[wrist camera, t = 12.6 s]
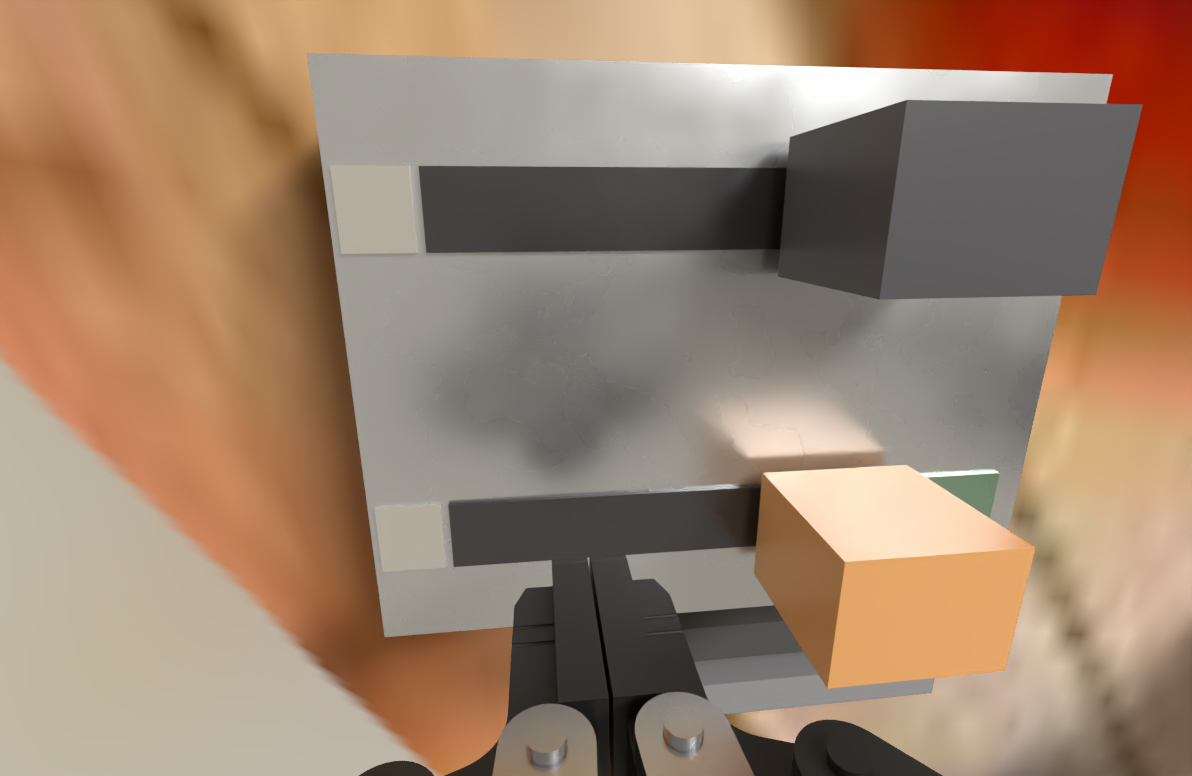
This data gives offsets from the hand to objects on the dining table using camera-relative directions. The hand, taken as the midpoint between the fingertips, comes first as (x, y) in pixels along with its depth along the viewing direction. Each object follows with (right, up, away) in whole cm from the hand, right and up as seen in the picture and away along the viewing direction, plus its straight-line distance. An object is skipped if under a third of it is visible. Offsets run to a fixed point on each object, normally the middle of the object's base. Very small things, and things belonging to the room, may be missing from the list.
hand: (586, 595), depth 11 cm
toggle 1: (+6, +8, +2) cm, 11 cm away
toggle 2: (+7, +1, +4) cm, 8 cm away
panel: (+3, +6, +7) cm, 9 cm away
